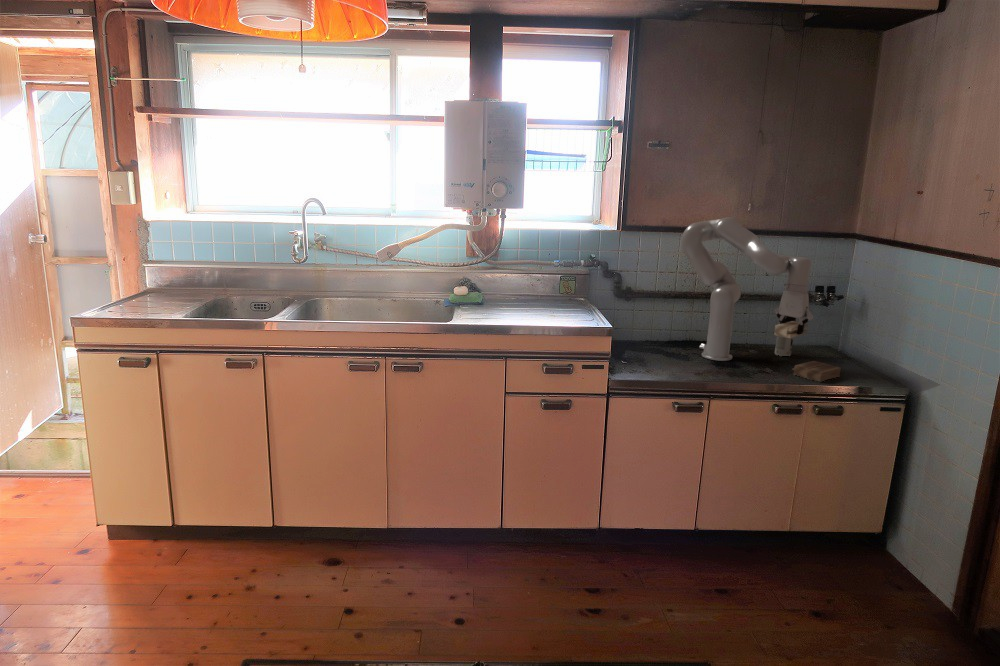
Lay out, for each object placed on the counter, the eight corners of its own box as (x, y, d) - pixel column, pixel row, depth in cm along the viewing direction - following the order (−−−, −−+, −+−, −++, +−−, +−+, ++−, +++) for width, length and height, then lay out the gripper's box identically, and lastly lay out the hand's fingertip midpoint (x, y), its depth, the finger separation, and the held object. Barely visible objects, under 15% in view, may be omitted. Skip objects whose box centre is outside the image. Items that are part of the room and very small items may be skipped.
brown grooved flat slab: (790, 374, 260) (792, 364, 259) (810, 369, 267) (811, 359, 266) (819, 382, 250) (821, 372, 249) (839, 377, 258) (840, 367, 257)
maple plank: (774, 334, 261) (775, 325, 260) (791, 330, 270) (792, 320, 269) (789, 338, 256) (791, 328, 255) (806, 333, 265) (808, 323, 264)
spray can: (792, 357, 284) (798, 313, 279) (775, 356, 285) (782, 311, 281) (788, 353, 290) (795, 309, 286) (772, 352, 292) (778, 308, 287)
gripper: (771, 286, 262) (765, 329, 267) (814, 292, 249) (807, 337, 254) (780, 284, 267) (775, 326, 271) (823, 290, 254) (816, 335, 258)
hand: (790, 331), depth 262 cm, fingers closed on maple plank, 6 cm apart
